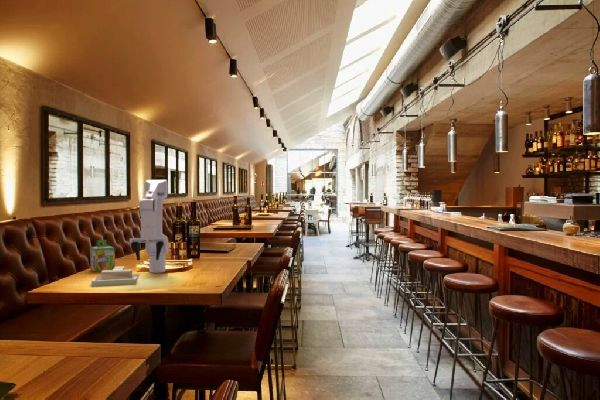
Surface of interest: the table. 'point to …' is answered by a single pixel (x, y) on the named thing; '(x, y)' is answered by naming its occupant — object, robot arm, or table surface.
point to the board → (122, 284)
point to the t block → (116, 274)
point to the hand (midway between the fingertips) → (148, 260)
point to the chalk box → (102, 257)
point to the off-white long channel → (114, 282)
